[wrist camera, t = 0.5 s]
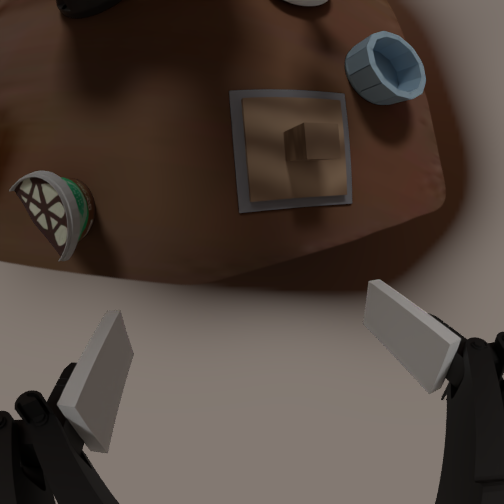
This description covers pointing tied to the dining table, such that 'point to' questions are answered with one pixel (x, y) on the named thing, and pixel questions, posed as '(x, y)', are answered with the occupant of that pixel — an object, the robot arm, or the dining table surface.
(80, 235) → the food container
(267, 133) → the walnut lid
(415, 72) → the ceramic bowl
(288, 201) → the rubber mat
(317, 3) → the flower in vase
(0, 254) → the dining table surface
